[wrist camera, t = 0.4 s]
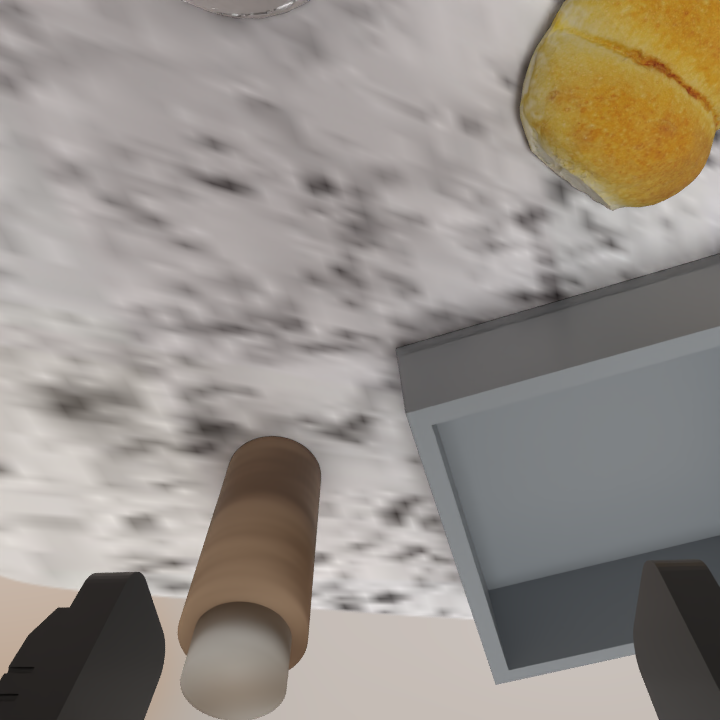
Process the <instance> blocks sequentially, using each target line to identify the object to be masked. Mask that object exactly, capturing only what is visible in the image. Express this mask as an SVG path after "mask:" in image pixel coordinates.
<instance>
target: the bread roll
mask: <svg viewBox="0 0 720 720" xmlns="http://www.w3.org/2000/svg"><path fill="white" fill-rule="evenodd" d="M520 118H521V121H522V125H523V129H524V132H525V135H526V137H527V139H528V141H529V146H530V149H531V151H532V152H533V153H534V154H536V156H537V157H538V158H539V159H541V161H543V162H544V163H545V164H546V165H547V166H548V167H549V168H550V169H552V170H553V171H554V172H555V173H556V174H557V175H559V176H560V177H561V178H563V179H565V180H566V181H568V182H569V183H570V184H571V185H572V186H573V187H575V188H576V189H577V190H579V191H581V192H584V193H586V194H588V195H589V196H590V197H591V198H592V199H593V200H594V201H596V202H599V203H601V204H602V205H604V206H605V207H606V208H608V209H610V210H612V211H613V210H616V209H618V208H622V207H643V206H649V205H654V204H657V203H659V202H661V201H664V200H666V199H668V198H670V197H671V196H673V195H675V194H677V193H678V192H680V191H681V190H683V189H684V188H685V187H686V186H688V185H689V184H690V183H691V182H692V181H693V180H694V179H695V178H696V177H697V176H698V175H699V174H700V172H701V171H702V169H703V167H704V166H705V164H706V161H707V159H708V157H709V154H710V150H711V146H712V142H713V139H714V135H715V132H716V130H718V129H720V0H565V1H564V3H563V4H562V6H561V8H560V9H559V11H558V12H557V14H556V17H555V18H554V20H553V22H552V24H551V27H550V28H549V29H548V30H547V32H546V33H545V35H544V36H543V38H542V40H541V41H540V42H539V44H538V46H537V47H536V49H535V51H534V53H533V55H532V58H531V61H530V64H529V67H528V70H527V73H526V77H525V80H524V83H523V89H522V98H521V103H520Z"/></svg>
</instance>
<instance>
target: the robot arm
mask: <svg viewBox="0 0 720 720" xmlns="http://www.w3.org/2000/svg"><path fill="white" fill-rule="evenodd" d="M182 1H184V2H187V3H189V4H192V5H194V6H197V7H199V8H202V9H204V10H206V11H209V12H213V13H217V14H219V15H225V16H229V17H233V18H265V17H269V16H273V15H278V14H282V13H286V12H288V11H290V10H292V9H294V8H296V7H298V6H300V5H302V4H304V3H306V2H308V1H310V0H182ZM633 640H634V649H635V654H636V659H637V663H638V666H639V670H640V672H641V675H642V678H643V680H644V683H645V685H646V688H647V690H648V693H649V695H650V698H651V700H652V703H653V706H654V708H655V711H656V713H657V716H658V718H659V720H720V587H719V585H718V583H717V582H716V580H715V578H714V577H713V575H712V573H711V572H710V570H709V568H708V567H707V566H706V564H705V563H704V562H703V561H701V560H699V559H678V560H647V561H646V562H645V563H644V566H643V570H642V576H641V582H640V589H639V595H638V601H637V608H636V614H635V620H634V627H633ZM164 657H165V639H164V633H163V630H162V627H161V624H160V622H159V618H158V615H157V612H156V609H155V606H154V603H153V600H152V597H151V594H150V591H149V588H148V585H147V582H146V579H145V577H144V576H143V574H142V573H140V572H116V573H94V574H92V575H90V576H89V577H88V578H87V579H86V581H85V582H84V584H83V586H82V587H81V589H80V591H79V592H78V594H77V596H76V598H75V599H74V601H73V603H72V604H71V606H70V607H69V608H57V609H56V610H55V611H54V612H53V613H52V614H51V615H49V616H48V617H47V618H46V619H45V620H44V621H43V622H42V623H41V624H40V625H39V626H38V627H37V628H36V629H35V630H33V631H32V632H31V633H30V634H29V635H28V637H27V638H26V640H25V641H24V643H23V645H22V647H21V648H20V649H19V651H18V653H17V654H16V656H15V657H14V659H13V661H12V662H11V664H10V665H9V670H8V673H7V674H4V675H3V677H2V678H1V680H0V720H144V718H145V716H146V713H147V710H148V707H149V705H150V702H151V699H152V697H153V694H154V692H155V689H156V686H157V684H158V681H159V678H160V675H161V672H162V669H163V664H164Z"/></svg>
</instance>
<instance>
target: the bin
mask: <svg viewBox="0 0 720 720" xmlns="http://www.w3.org/2000/svg"><path fill="white" fill-rule="evenodd" d="M396 353H397V359H398V366H399V372H400V379H401V385H402V392H403V399H404V405H405V412H406V416H407V419H408V422H409V425H410V428H411V431H412V434H413V437H414V440H415V443H416V446H417V449H418V452H419V455H420V458H421V461H422V464H423V467H424V470H425V473H426V476H427V479H428V482H429V485H430V488H431V491H432V494H433V497H434V500H435V503H436V506H437V509H438V512H439V515H440V518H441V521H442V524H443V527H444V530H445V533H446V536H447V539H448V542H449V545H450V548H451V551H452V554H453V557H454V560H455V563H456V566H457V569H458V572H459V575H460V578H461V581H462V584H463V587H464V590H465V594H466V597H467V600H468V603H469V606H470V609H471V612H472V615H473V618H474V621H475V623H476V626H477V630H478V633H479V635H480V638H481V641H482V645H483V648H484V651H485V654H486V657H487V660H488V663H489V666H490V669H491V672H492V675H493V678H494V681H495V684H496V685H497V684H501V683H506V682H511V681H515V680H519V679H524V678H529V677H534V676H538V675H543V674H547V673H552V672H556V671H561V670H566V669H570V668H574V667H579V666H584V665H588V664H593V663H597V662H602V661H607V660H611V659H616V658H620V657H625V656H630V655H634V654H635V649H634V640H633V627H634V620H635V614H636V608H637V601H638V595H639V589H640V582H641V576H642V570H643V566H644V563H645V562H646V561H647V560H678V559H699V560H701V561H703V562H704V563H705V564H706V566H707V567H708V568H709V570H710V572H711V573H712V575H713V577H714V578H715V580H716V582H717V583H718V585H719V587H720V254H717V255H714V256H711V257H707V258H704V259H700V260H697V261H694V262H690V263H687V264H683V265H680V266H677V267H673V268H670V269H666V270H663V271H659V272H656V273H653V274H649V275H646V276H642V277H639V278H636V279H632V280H629V281H625V282H622V283H618V284H615V285H612V286H608V287H605V288H601V289H598V290H595V291H591V292H588V293H584V294H581V295H578V296H574V297H571V298H567V299H564V300H560V301H557V302H554V303H550V304H547V305H543V306H540V307H537V308H533V309H530V310H526V311H523V312H520V313H516V314H513V315H509V316H506V317H502V318H499V319H496V320H492V321H489V322H485V323H482V324H479V325H475V326H472V327H468V328H465V329H461V330H458V331H455V332H451V333H448V334H444V335H441V336H438V337H434V338H431V339H427V340H424V341H421V342H417V343H414V344H410V345H407V346H403V347H400V348H397V349H396Z"/></svg>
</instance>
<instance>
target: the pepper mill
mask: <svg viewBox="0 0 720 720" xmlns="http://www.w3.org/2000/svg"><path fill="white" fill-rule="evenodd" d="M320 484H321V471H320V467H319V464H318V462H317V460H316V458H315V457H314V456H313V454H312V453H311V452H310V451H309V450H308V449H307V448H305V447H304V446H303V445H301V444H300V443H298V442H296V441H293V440H290V439H287V438H283V437H276V436H269V437H261V438H257V439H254V440H251V441H249V442H247V443H246V444H244V445H243V446H241V447H240V448H239V449H238V450H237V451H236V452H235V453H234V455H233V457H232V458H231V461H230V463H229V466H228V469H227V472H226V476H225V479H224V482H223V485H222V488H221V491H220V495H219V498H218V501H217V504H216V507H215V510H214V514H213V517H212V520H211V523H210V526H209V529H208V533H207V536H206V539H205V542H204V545H203V548H202V551H201V555H200V558H199V561H198V564H197V567H196V570H195V574H194V577H193V580H192V583H191V586H190V589H189V593H188V596H187V599H186V602H185V605H184V608H183V612H182V615H181V618H180V621H179V625H178V639H179V643H180V646H181V648H182V649H183V651H184V653H185V654H186V655H187V657H186V661H185V664H184V668H183V671H182V675H181V679H180V685H181V690H182V693H183V695H184V697H185V698H186V699H187V700H188V702H189V703H190V704H191V705H192V706H193V707H195V708H196V709H197V710H199V711H201V712H202V713H205V714H207V715H209V716H212V717H215V718H218V719H223V720H251V719H256V718H259V717H262V716H265V715H266V714H269V713H270V712H272V711H273V710H275V709H276V708H277V707H278V706H279V705H280V704H281V703H282V701H283V699H284V697H285V694H286V689H287V679H288V670H290V669H291V668H293V667H294V666H295V665H296V664H297V663H298V662H299V661H300V659H301V658H302V657H303V655H304V653H305V651H306V648H307V644H308V634H309V621H310V609H311V597H312V584H313V572H314V559H315V547H316V534H317V522H318V509H319V497H320Z"/></svg>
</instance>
